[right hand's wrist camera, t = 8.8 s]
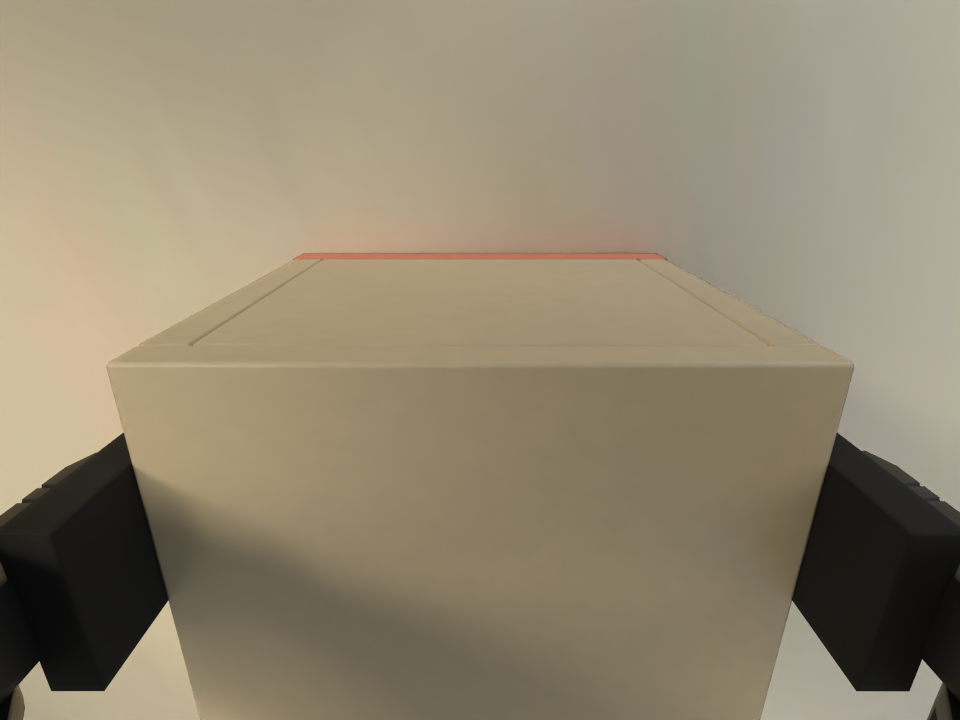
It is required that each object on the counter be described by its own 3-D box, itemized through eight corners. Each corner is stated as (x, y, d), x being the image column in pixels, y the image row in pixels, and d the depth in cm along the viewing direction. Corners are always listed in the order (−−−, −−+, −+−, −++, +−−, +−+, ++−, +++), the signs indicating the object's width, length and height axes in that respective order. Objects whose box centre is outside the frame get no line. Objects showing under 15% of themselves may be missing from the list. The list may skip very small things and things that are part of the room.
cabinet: (606, 688, 23) (683, 1013, 14) (353, 688, 23) (276, 1014, 14) (656, 253, 16) (859, 362, 8) (303, 253, 16) (101, 362, 8)
